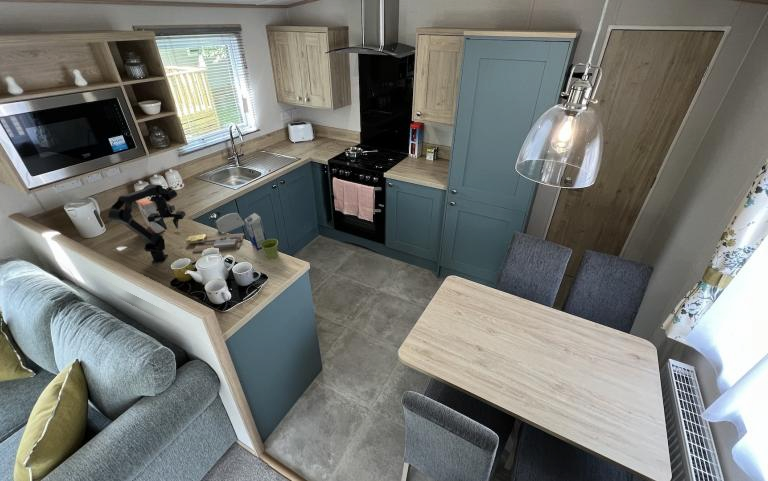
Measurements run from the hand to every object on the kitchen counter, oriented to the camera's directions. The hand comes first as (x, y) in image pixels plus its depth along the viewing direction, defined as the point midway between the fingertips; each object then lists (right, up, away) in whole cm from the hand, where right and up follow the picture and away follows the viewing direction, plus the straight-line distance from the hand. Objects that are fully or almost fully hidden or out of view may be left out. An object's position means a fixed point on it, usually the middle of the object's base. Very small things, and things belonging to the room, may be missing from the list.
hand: (172, 228), depth 202 cm
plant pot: (+62, -16, -7) cm, 64 cm away
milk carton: (+51, -10, +2) cm, 52 cm away
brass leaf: (+11, -7, +7) cm, 15 cm away
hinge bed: (+26, -9, +5) cm, 28 cm away
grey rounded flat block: (+25, +1, +22) cm, 33 cm away
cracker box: (-24, 0, +22) cm, 33 cm away
